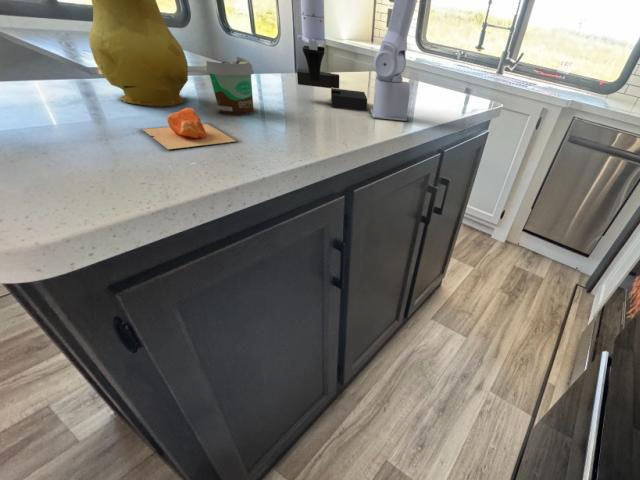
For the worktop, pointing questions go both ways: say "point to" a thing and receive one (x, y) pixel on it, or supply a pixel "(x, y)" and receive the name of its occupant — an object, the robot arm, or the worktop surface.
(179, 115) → the rock
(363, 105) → the graphite pad
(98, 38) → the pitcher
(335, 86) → the black pad
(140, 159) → the worktop surface
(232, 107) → the food container
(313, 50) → the robot arm
